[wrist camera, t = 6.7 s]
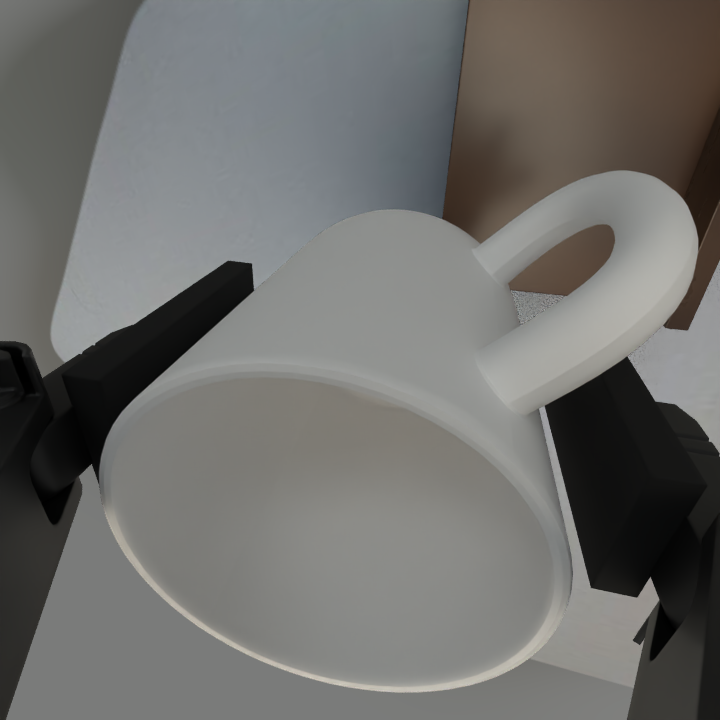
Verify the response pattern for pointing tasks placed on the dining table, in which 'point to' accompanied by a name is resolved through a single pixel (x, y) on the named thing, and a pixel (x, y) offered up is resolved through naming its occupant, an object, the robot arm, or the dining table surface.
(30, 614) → the robot arm
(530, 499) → the cup
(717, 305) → the dining table surface
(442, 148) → the dining table surface
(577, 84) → the shelf
